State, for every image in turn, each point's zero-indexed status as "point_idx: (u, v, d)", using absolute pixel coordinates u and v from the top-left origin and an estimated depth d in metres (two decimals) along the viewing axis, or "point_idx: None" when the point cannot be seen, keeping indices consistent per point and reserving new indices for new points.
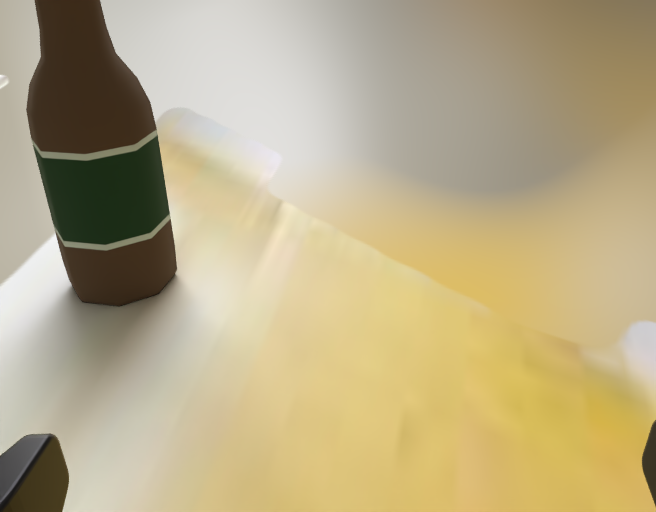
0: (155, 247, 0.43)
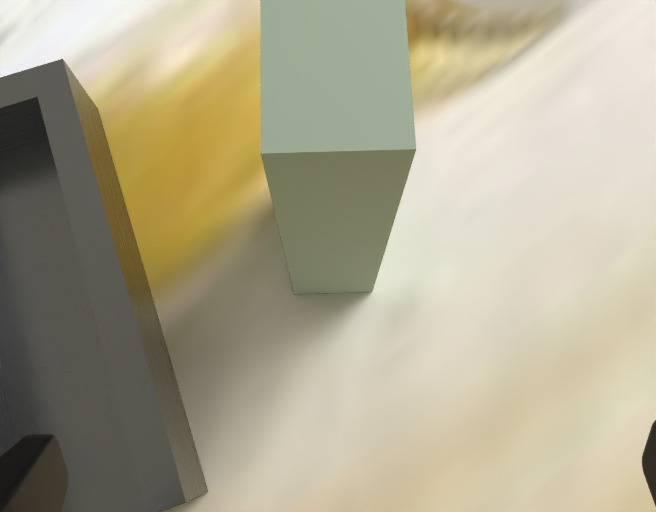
0: None
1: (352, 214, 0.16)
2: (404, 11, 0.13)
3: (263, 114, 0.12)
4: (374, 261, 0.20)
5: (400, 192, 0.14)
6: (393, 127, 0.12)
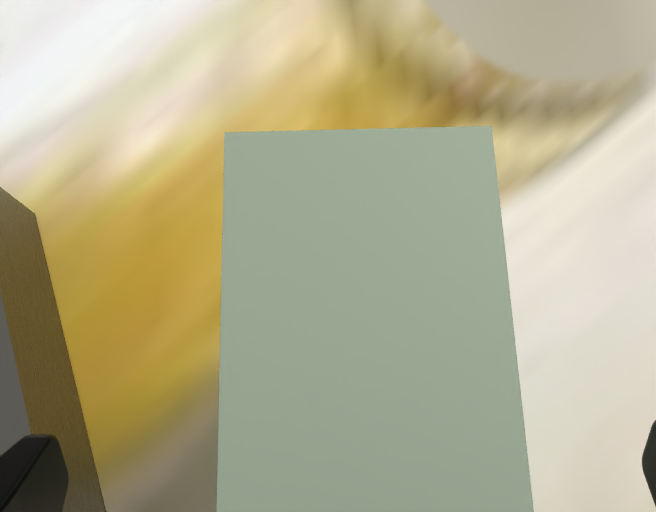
0: None
1: None
2: (501, 235, 0.07)
3: (222, 466, 0.06)
4: None
5: None
6: (490, 499, 0.06)
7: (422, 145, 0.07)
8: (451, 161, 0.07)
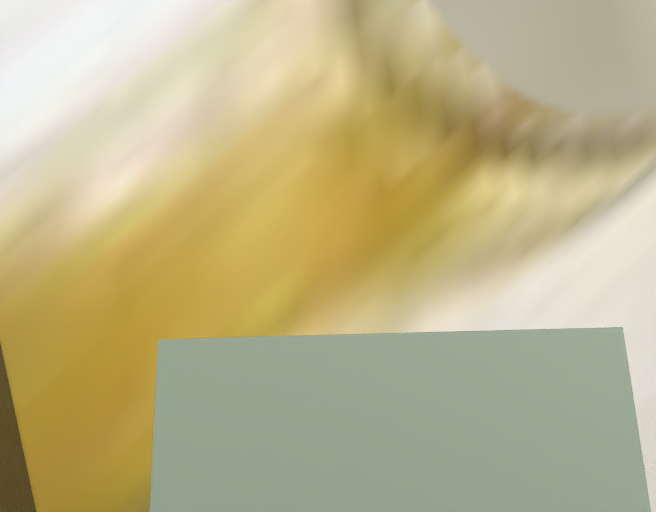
0: None
1: None
2: None
3: None
4: None
5: None
6: None
7: (504, 364, 0.04)
8: (556, 396, 0.04)
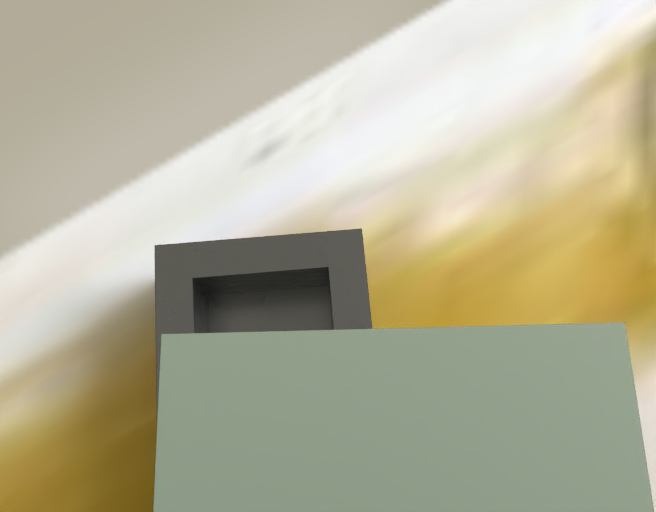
0: None
1: None
2: None
3: None
4: None
5: None
6: None
7: (506, 359, 0.04)
8: (558, 390, 0.04)
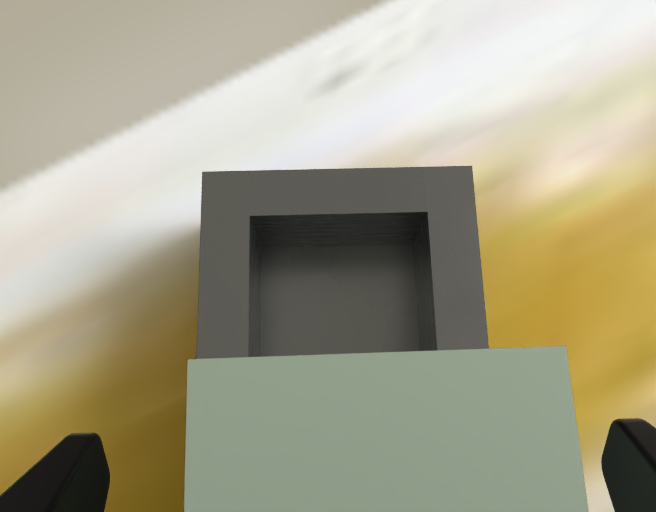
0: None
1: None
2: None
3: None
4: None
5: None
6: None
7: (469, 377, 0.05)
8: (511, 402, 0.05)
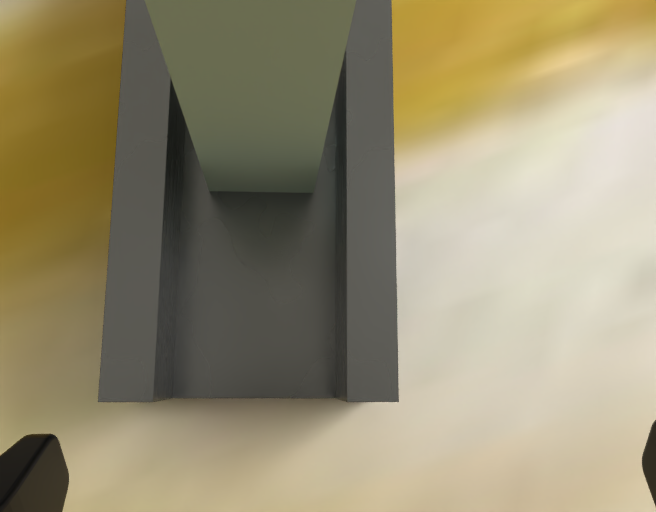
0: None
1: (278, 24, 0.10)
2: None
3: None
4: (316, 136, 0.14)
5: None
6: None
7: None
8: None
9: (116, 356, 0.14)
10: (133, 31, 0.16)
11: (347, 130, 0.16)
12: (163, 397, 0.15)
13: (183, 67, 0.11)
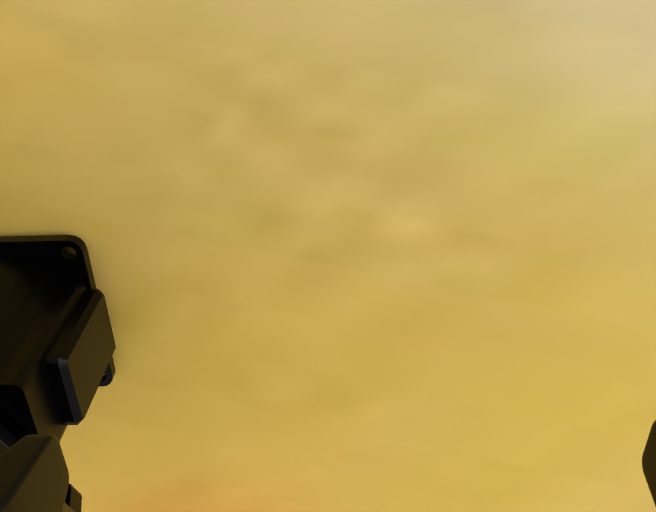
0: None
1: None
2: None
3: None
4: None
5: None
6: None
7: None
8: None
9: None
10: None
11: None
12: None
13: None
